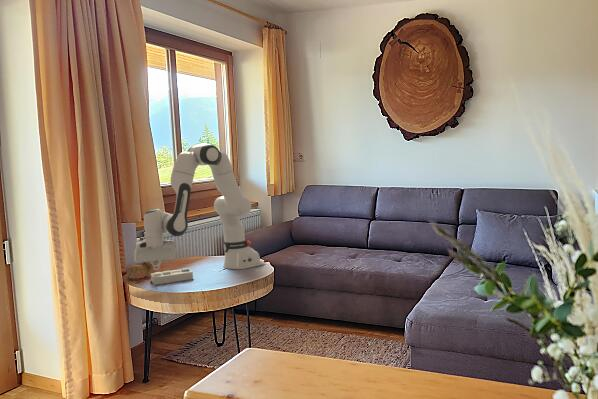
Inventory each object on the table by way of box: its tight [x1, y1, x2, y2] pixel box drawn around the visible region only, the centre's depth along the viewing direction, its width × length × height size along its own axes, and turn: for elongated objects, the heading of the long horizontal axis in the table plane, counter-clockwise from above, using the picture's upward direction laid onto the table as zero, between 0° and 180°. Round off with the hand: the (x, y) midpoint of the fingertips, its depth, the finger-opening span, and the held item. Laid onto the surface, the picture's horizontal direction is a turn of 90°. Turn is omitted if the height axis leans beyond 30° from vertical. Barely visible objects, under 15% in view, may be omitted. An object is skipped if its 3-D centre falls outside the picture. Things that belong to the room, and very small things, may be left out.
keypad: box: [150, 267, 194, 287], centre depth 258 cm, size 19×12×4 cm, turn 114°
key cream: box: [153, 271, 162, 276], centre depth 255 cm, size 3×3×3 cm
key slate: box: [180, 267, 190, 272], centre depth 261 cm, size 3×3×3 cm
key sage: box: [162, 270, 171, 275], centre depth 257 cm, size 3×3×3 cm
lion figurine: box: [127, 261, 156, 279], centre depth 270 cm, size 15×5×9 cm, turn 119°
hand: (156, 269), depth 255 cm, fingers closed
